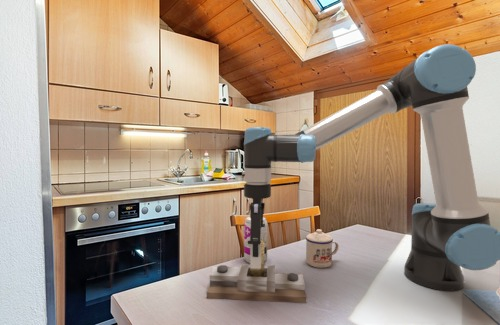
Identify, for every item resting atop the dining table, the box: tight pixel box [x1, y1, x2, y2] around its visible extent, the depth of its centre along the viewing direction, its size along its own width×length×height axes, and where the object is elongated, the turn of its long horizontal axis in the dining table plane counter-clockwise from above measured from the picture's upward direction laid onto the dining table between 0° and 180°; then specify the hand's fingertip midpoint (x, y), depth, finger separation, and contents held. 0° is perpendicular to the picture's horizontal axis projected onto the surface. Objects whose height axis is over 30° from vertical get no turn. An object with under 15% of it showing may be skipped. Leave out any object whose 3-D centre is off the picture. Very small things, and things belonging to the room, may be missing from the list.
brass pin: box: [250, 239, 265, 277], centre depth 77 cm, size 4×4×12 cm
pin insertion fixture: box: [206, 263, 307, 304], centre depth 78 cm, size 26×13×6 cm, turn 85°
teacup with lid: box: [305, 228, 340, 269], centre depth 95 cm, size 12×9×12 cm
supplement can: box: [243, 216, 268, 264], centre depth 97 cm, size 8×8×15 cm
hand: (257, 257), depth 77 cm, fingers open, 13 cm apart
